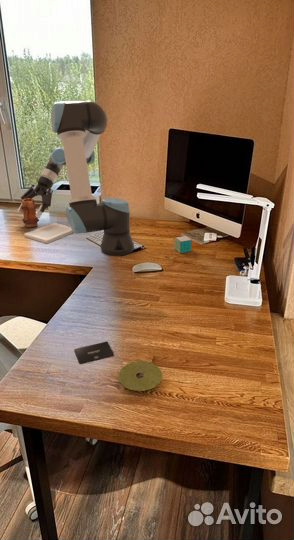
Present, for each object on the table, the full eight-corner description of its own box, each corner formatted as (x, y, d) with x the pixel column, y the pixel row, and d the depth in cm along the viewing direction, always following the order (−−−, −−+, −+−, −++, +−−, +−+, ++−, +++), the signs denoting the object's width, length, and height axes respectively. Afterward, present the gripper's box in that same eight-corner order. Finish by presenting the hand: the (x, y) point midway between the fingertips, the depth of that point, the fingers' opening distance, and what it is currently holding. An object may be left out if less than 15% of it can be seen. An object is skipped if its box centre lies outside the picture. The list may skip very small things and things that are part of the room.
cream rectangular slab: (76, 231, 203) (76, 228, 202) (47, 243, 188) (46, 240, 187) (54, 225, 211) (54, 222, 210) (24, 236, 196) (24, 233, 196)
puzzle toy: (180, 253, 177) (180, 241, 175) (174, 249, 182) (174, 237, 179) (191, 251, 179) (192, 239, 177) (185, 247, 184) (185, 235, 181)
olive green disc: (170, 384, 102) (171, 378, 101) (134, 403, 96) (134, 397, 95) (145, 361, 110) (145, 355, 109) (110, 377, 104) (110, 371, 103)
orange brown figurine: (22, 224, 213) (18, 196, 206) (37, 222, 216) (34, 195, 209) (26, 233, 200) (22, 204, 194) (43, 230, 204) (39, 202, 197)
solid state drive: (114, 356, 113) (114, 354, 112) (79, 365, 109) (79, 363, 109) (107, 343, 118) (107, 341, 118) (74, 350, 115) (73, 349, 115)
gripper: (68, 187, 205) (49, 222, 201) (35, 180, 218) (17, 214, 214) (59, 178, 199) (40, 215, 195) (26, 172, 212) (7, 206, 207)
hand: (28, 214), depth 204 cm, fingers open, 13 cm apart
